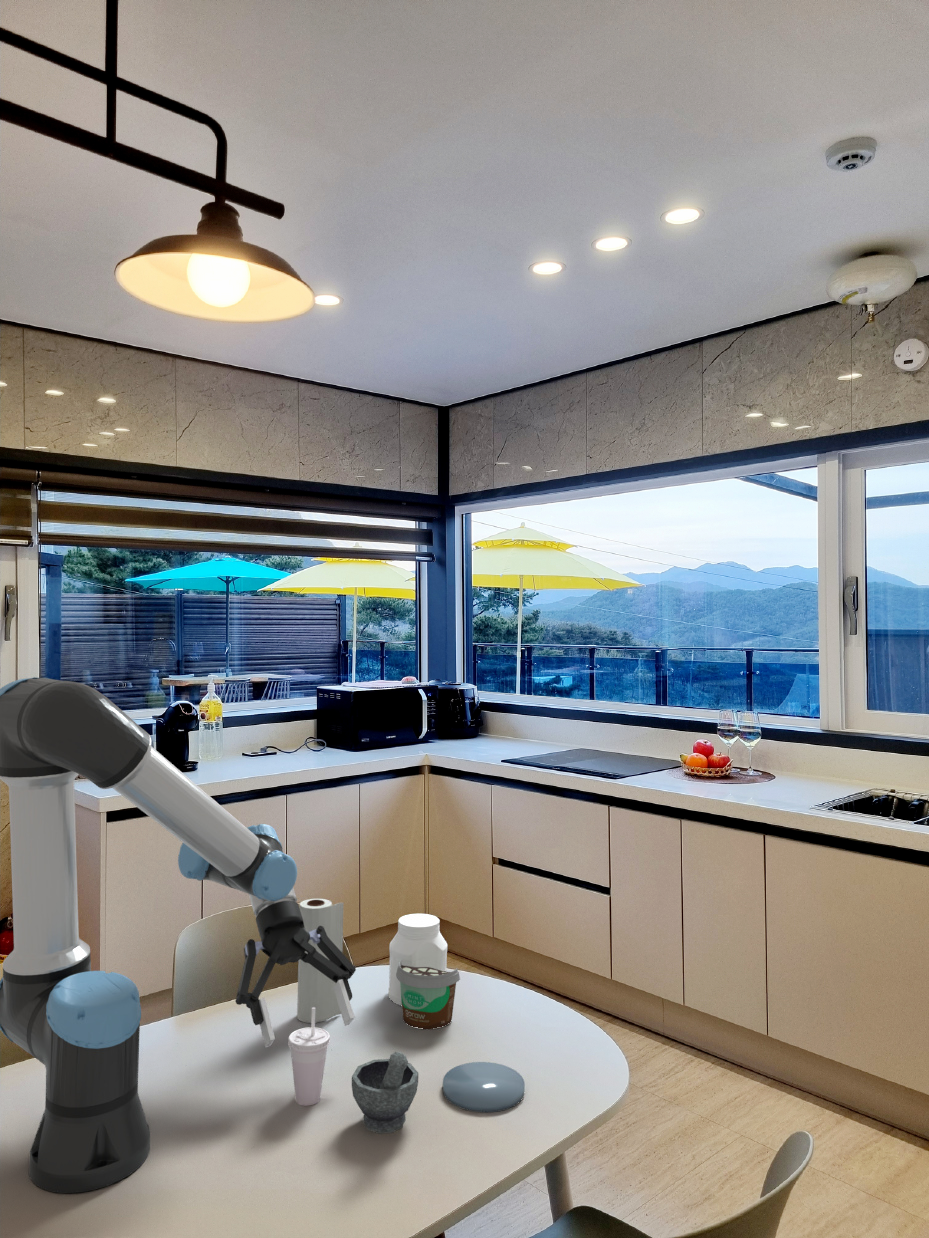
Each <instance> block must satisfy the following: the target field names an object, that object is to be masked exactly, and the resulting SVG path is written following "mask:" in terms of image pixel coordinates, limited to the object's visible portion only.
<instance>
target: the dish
mask: <svg viewBox="0 0 929 1238" xmlns="http://www.w3.org/2000/svg"><path fill="white" fill-rule="evenodd" d="M525 1085H526V1084H525V1080H524V1077H523V1076H522V1075H521V1074H520V1073H519V1072H518V1071H517V1070H515V1069H513V1068H511V1067H509V1066H508V1065H504V1064H501V1063H497V1062H490V1061H475V1062H474V1061H473V1062H467V1063H463V1064H459V1065H456V1066H455V1067H453V1068H451V1069H449V1070H448V1071H447V1072H446V1073H445V1075H443V1078H442V1093H443V1096H444V1097H445V1098H446V1100H447V1101H448V1102H450V1103H451V1104H452V1105H454V1106H456V1107H458V1108H460V1109H462V1110H466V1111H470V1112H476V1113H495V1112H496V1113H497V1112H501V1111H505V1110H509V1109H511V1108H513V1107H515V1106H517V1105H518V1104H519V1103H520V1102H522V1100H523V1099H522V1098H524V1097H525V1093H524V1092H525V1090H526V1089H525ZM523 1096H524V1097H523ZM521 1099H522V1100H521ZM518 1102H519V1103H518ZM517 1103H518V1104H517ZM516 1104H517V1105H516ZM514 1105H515V1106H514Z"/></svg>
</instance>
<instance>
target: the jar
mask: <svg viewBox="0 0 929 1238" xmlns="http://www.w3.org/2000/svg"><path fill="white" fill-rule="evenodd" d="M397 922H398V923H397V925H398V926H397V932H396V934H395V935H394V937H393V938H392V939H391V941H390V942H389V946H388V947H389V972H388V973H389V976H388V977H389V982H388V994H387V995H388V998H390V999H389V1000H390V1001H391V1000H392V1001H393V1002H392V1001H391V1002H392V1003H393V1004H395V1003H396V1004H395V1005H397V1004H399V1005H398V1006H400V1005H402V1000H401V987H400V981H399V980H398V979H397V977H396V973H397V968H398V965H399V963H400V961H402V965H403V966H410V967H431V968H434V969H437V970H441V971H446V972H447V966H448V965H447V962H448V961H447V960H448V959H447V958H448V957H447V955H448V953H447V952H448V943H447V940H445V937H444V936H443V935H442V933H441V931H440V922H441V921H440V918H438V917H437V916H436V915H432V914H430V913H429V914H428V913H410V914H406V915H402V916H401V917H399V919H398V921H397Z"/></svg>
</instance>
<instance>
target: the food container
mask: <svg viewBox="0 0 929 1238" xmlns="http://www.w3.org/2000/svg"><path fill="white" fill-rule="evenodd" d="M396 977H397V979H398V980H399V981H400V987H401V1000H402V1006H401V1011H402V1021H403V1020H404V1021H403V1022H404V1024H405V1023H407V1024H408V1025H407V1024H406V1025H407V1026H409V1025H410V1026H413V1027H418V1028H423V1029H422V1030H426V1029H428V1030H434V1029H433V1028H437V1027H441V1028H443V1027H442V1026H444V1027H446V1026H448V1025H449V1024H451V1022H452V1021H451V1020H453V1012H454V1003H455V996H456V987H457V983H458V982H459V981H460V980H461V977H460V972H459V969H458V967H456V968H455V969H454V970H453V971H447V970H446V971H441V970H437V969H434V968H431V967H410V966H403V965H402V961H400V963H399V965H398V968H397V973H396ZM448 1023H449V1024H448ZM447 1024H448V1025H447ZM445 1025H446V1026H445ZM410 1026H409V1027H410ZM413 1027H412V1028H413ZM437 1029H438V1028H437Z"/></svg>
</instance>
